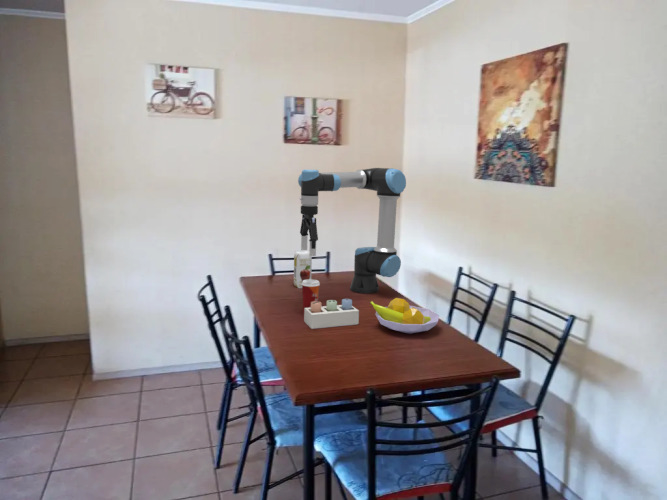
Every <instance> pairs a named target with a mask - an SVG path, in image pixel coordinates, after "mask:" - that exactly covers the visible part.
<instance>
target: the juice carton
mask: <svg viewBox="0 0 667 500" xmlns="http://www.w3.org/2000/svg"><path fill="white" fill-rule="evenodd" d="M312 260H313V256H309V250H302V251H294V256H293V284H294V287H296V288H297V289H302V281H303V280H307V279H312V270H313V269H312V267H313V266H312V264H313V261H312Z"/></svg>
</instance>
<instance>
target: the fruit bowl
mask: <svg viewBox="0 0 667 500" xmlns="http://www.w3.org/2000/svg"><path fill="white" fill-rule="evenodd" d="M369 304H370V305H372V307H373V309H374V310H375V314H374V315H375V316H376V318H377V321H379V324H380V325H381V326H384V327H386V328H387V329H390V330H394V331H397V332H400V333H405V334H414V333H415V334H417V333H421V332H427V331H429V330H431V329H433V328H434V327H435V326H437V325H438V322H439V319H440V314H438V313H437V312H435V311H432V310H431V309H430V308H423V307H419V306H414V305H410V302H408V301H407V300H406V299H404V298H399V297H395V298H394V299H391V300H390V302H389V303H388V306H383V305H379V304H377V303H375V302H374V301H372V300H371V301H370V303H369Z"/></svg>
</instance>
